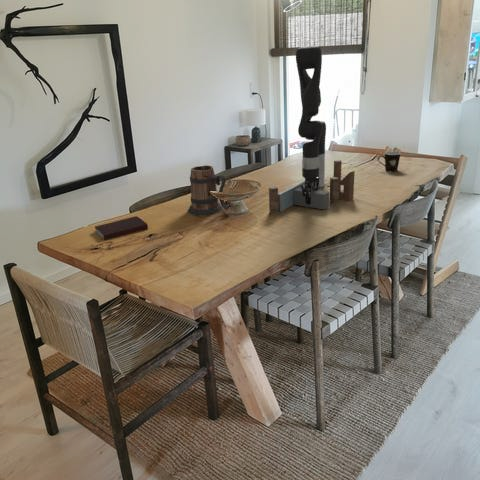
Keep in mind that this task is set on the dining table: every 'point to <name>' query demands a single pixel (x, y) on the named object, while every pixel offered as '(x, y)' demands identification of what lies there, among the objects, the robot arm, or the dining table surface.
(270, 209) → the gate frame
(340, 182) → the wooden block
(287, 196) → the gate leaf
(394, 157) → the coffee mug
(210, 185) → the tankard
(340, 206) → the dining table surface
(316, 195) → the block
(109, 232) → the book
